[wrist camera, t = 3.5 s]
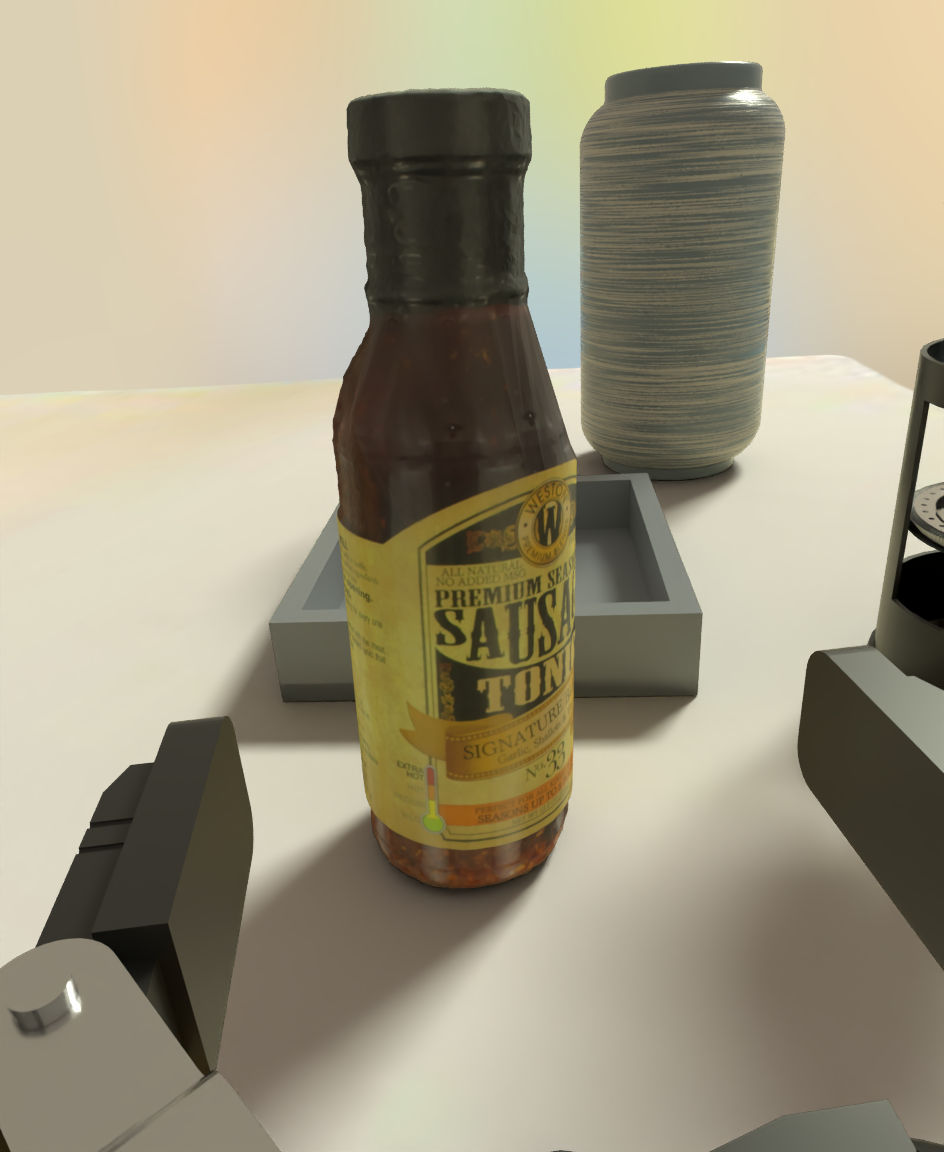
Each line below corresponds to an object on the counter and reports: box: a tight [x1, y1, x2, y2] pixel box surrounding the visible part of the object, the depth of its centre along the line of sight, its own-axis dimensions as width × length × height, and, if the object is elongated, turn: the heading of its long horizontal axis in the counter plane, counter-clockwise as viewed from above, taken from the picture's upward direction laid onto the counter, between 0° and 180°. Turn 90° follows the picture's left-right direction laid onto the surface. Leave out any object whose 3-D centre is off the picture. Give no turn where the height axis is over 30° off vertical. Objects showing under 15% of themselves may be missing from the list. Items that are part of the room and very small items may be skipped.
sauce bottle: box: [332, 88, 577, 889], centre depth 22 cm, size 6×6×20 cm
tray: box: [269, 473, 702, 702], centre depth 39 cm, size 16×16×4 cm
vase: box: [580, 61, 785, 480], centre depth 53 cm, size 12×12×23 cm
